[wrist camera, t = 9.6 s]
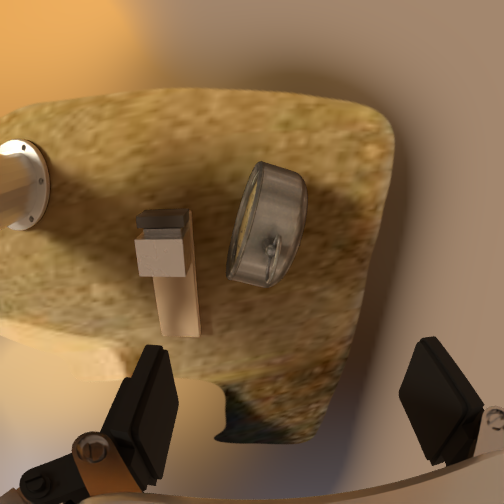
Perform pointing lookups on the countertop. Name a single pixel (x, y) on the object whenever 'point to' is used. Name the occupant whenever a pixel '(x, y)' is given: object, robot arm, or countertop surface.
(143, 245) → the block
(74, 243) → the countertop surface
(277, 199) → the alarm clock
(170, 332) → the track
